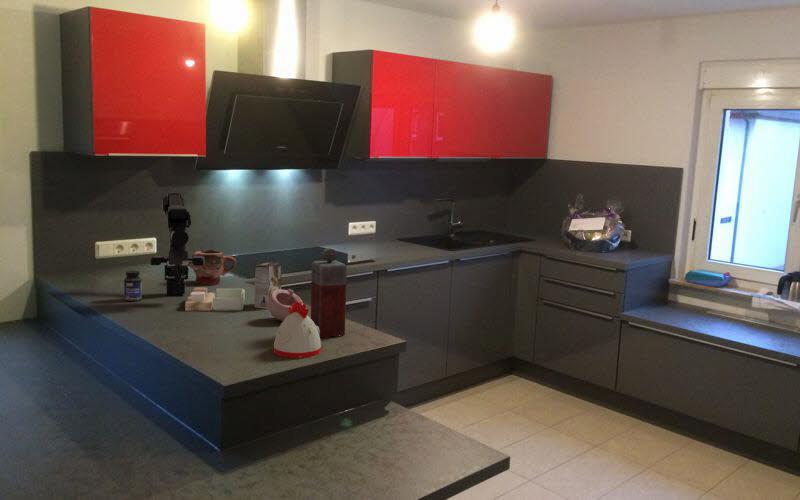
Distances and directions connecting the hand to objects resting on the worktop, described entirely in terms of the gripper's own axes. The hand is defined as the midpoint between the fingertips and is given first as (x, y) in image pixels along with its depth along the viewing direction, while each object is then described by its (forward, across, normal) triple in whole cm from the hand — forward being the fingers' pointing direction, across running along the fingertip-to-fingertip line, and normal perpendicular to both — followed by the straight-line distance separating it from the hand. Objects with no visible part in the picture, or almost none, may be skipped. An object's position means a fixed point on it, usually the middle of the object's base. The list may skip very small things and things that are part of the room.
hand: (178, 283), depth 254 cm
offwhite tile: (+4, +8, -8) cm, 12 cm away
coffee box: (+8, +33, -6) cm, 34 cm away
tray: (+7, +19, -4) cm, 21 cm away
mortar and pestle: (+8, +39, -28) cm, 48 cm away
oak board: (+7, +8, -4) cm, 12 cm away
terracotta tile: (+4, +8, 0) cm, 9 cm away
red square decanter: (+7, +52, -44) cm, 68 cm away
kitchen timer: (+7, +42, -64) cm, 77 cm away
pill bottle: (+8, -17, +4) cm, 19 cm away
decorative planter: (+8, +9, +37) cm, 39 cm away
